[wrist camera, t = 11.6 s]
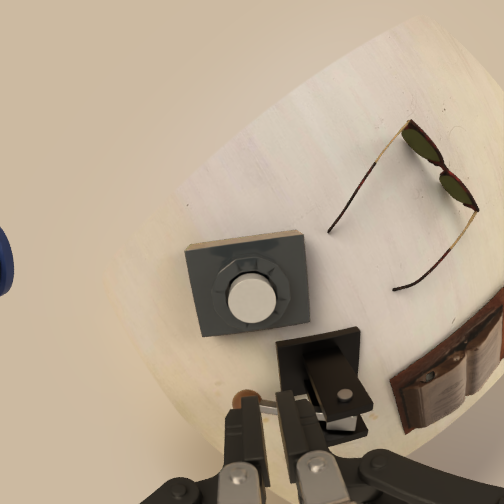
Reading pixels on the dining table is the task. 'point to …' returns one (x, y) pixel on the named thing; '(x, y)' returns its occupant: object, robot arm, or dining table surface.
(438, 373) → the book
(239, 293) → the white push button
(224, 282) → the button housing
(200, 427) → the dining table surface
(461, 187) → the sunglasses
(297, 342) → the lever bracket
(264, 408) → the flush lever
